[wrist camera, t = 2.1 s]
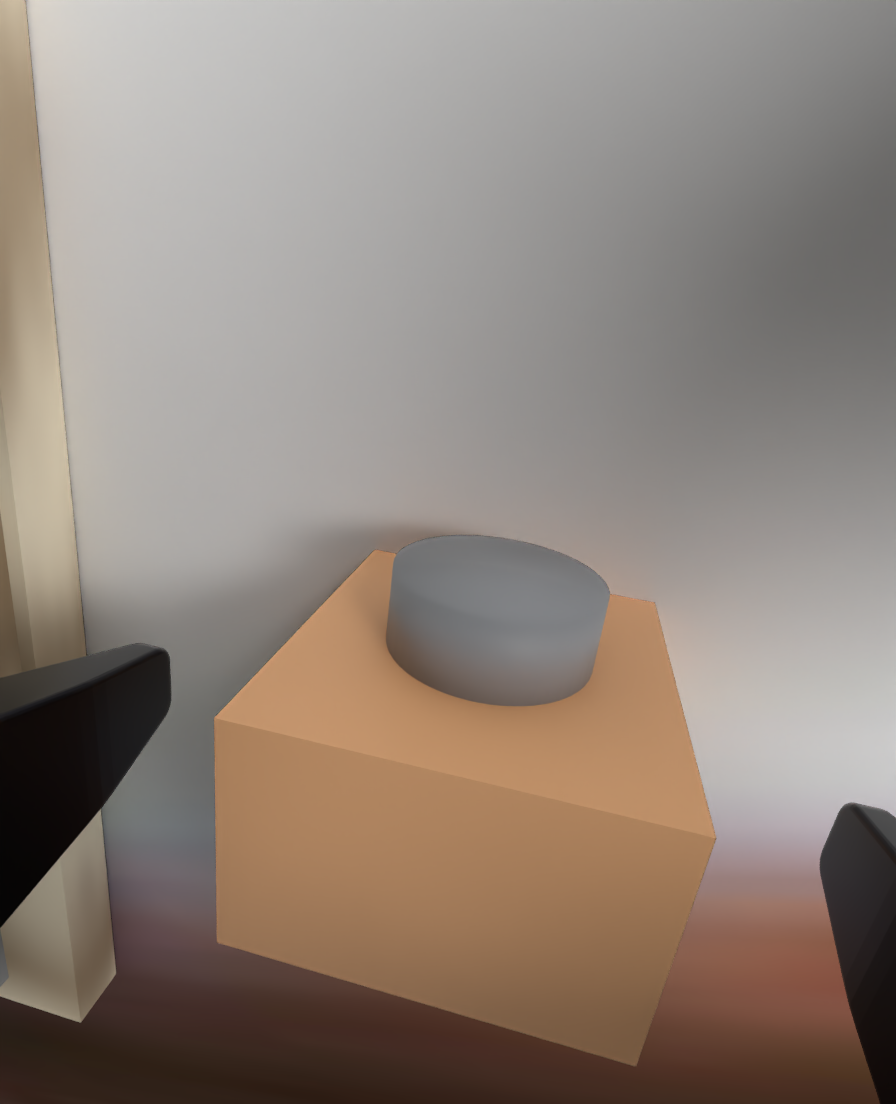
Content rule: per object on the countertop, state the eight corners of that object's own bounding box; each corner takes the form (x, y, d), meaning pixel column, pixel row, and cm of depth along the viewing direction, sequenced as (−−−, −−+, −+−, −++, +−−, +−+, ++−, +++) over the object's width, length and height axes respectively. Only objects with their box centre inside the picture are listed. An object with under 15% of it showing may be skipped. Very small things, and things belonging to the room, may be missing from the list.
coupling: (380, 491, 10) (212, 623, 6) (669, 542, 10) (750, 740, 5) (358, 744, 12) (217, 1002, 7) (601, 801, 11) (614, 1126, 7)
